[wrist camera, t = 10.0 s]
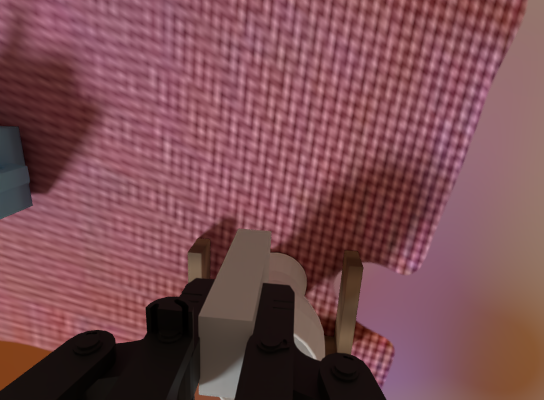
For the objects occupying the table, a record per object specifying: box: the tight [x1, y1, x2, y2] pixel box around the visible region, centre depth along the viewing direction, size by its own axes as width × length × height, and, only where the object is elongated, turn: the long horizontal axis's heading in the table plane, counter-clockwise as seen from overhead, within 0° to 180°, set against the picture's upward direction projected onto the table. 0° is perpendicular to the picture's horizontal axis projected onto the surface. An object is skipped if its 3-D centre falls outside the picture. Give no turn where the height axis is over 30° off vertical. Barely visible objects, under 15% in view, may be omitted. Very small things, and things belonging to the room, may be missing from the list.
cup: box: [220, 253, 325, 400], centre depth 37 cm, size 11×11×15 cm
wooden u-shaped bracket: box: [188, 238, 363, 356], centre depth 42 cm, size 14×19×4 cm
